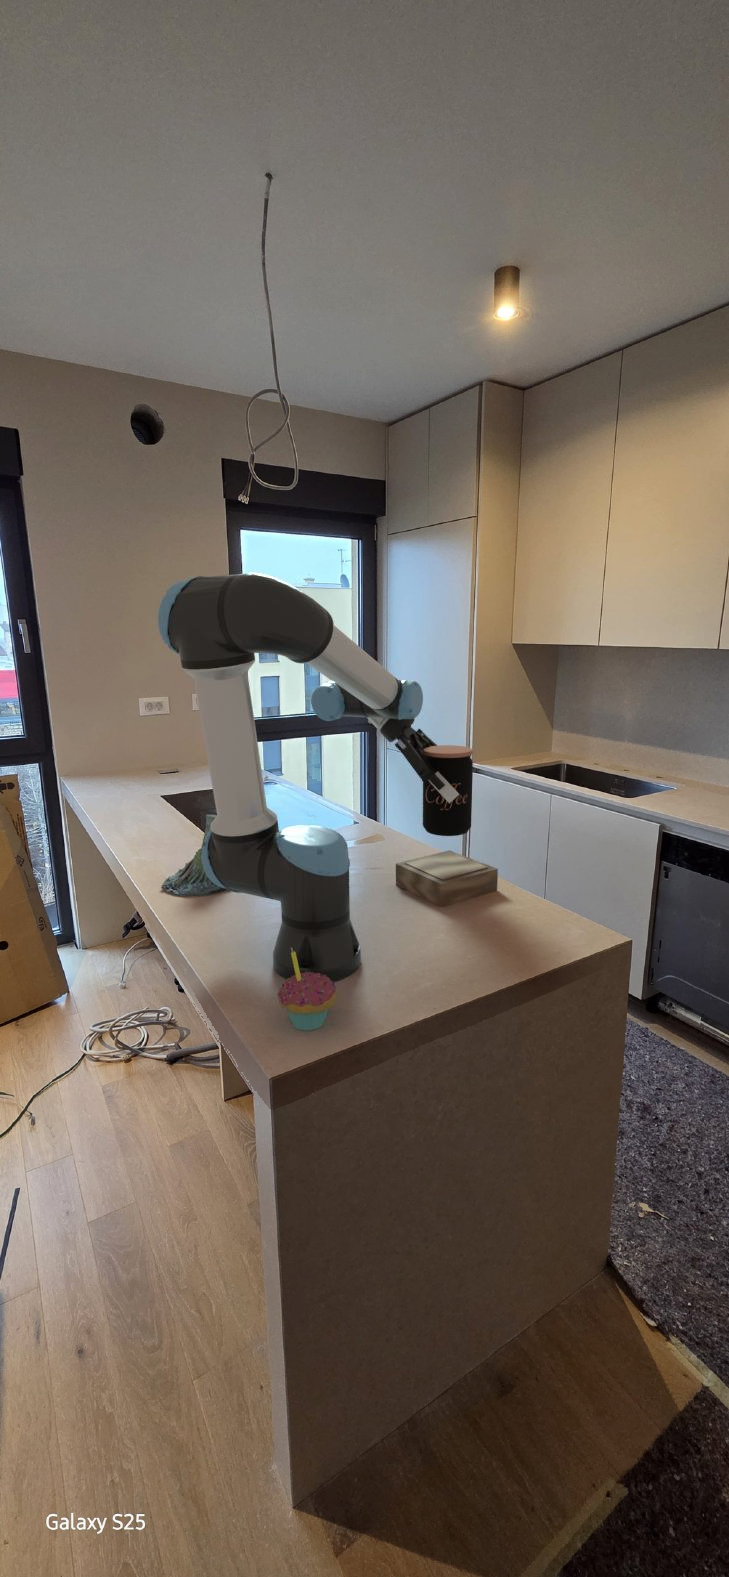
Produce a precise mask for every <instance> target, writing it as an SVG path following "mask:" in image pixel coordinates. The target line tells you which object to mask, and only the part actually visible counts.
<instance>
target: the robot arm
mask: <svg viewBox="0 0 729 1577" xmlns="http://www.w3.org/2000/svg"><path fill="white" fill-rule="evenodd" d="M157 613H158V614H157V626H158V631H159V635H160V637H161V639H162V641H163V643H164V644H165V645H167V647H168V649H170V650H171V651H172V652H174V653H176V654H178V655H179V659H180V664H181V669H182V671H184V672H185V673H187V675H189V676H190V677H191V678H192V679H193V681H194V688H195V692H196V699H197V705H198V710H199V712H198V713H199V715H200V716H199V717H200V723H201V728H202V734H203V740H204V746H205V751H206V758H207V762H208V763H207V764H208V768H209V776H210V780H211V787H212V793H213V798H214V803H215V809H216V810H215V811H216V815H217V816H216V818H215V819H214V820H213V821H212V823H211V825H210V828H211V830H210V831H209V832H208V834H207V835H206V837H205V840H204V843H205V846H204V847H202V854H201V857H202V864H203V868H204V870H205V873H206V875H207V876H208V878H209V879H210V880H211V881H212V882H213V883H214V884H216V885H217V886H219V887H222V888H225V889H224V890H227V891H231V892H233V893H237V894H238V893H239V894H241V893H242V894H246V895H251V896H256V897H261V898H265V899H270V900H272V901H273V900H274V901H278V902H279V903H280V908H281V909H280V912H281V924H280V926H279V927H280V928H279V931H278V934H277V936H276V937H277V938H276V940H275V945H274V949H273V952H272V953H273V954H272V960H273V961H272V962H273V964H272V965H273V968H274V971H275V972H276V973H277V974H278V975H279V976H280V977H282V978H284V979H285V980H286V979H288V978H290V977H292V976H294V975H296V974H295V969H294V965H293V960H292V956H291V953H292V951H291V948H292V949H293V952H296V957H297V961H298V966H299V971H300V973H302V972H303V973H304V972H313V973H316V972H317V973H320V974H322V975H326V977H328V978H329V979H330V980H331V981H332V982H335V981H338V980H341V979H344V978H346V977H349V976H350V975H351V974H353V973H355V972H356V971H357V970H358V969H359V967H360V965H361V963H362V956H361V955H362V953H361V952H362V950H361V945H360V943H359V940H358V937H357V934H356V932H355V929H354V926H353V923H352V920H351V913H350V912H351V911H350V910H351V909H350V907H351V906H350V901H351V900H350V867H351V861H350V857H349V849H348V848H349V847H348V843H347V841H346V839H345V837H344V836H343V835H342V834H341V833H340V832H337V831H335V830H334V829H331V828H328V827H325V826H320V825H314V824H310V825H305V824H295V825H290V826H287V827H285V828H283V829H281V831H280V827H279V821H278V815H277V814H276V812H274V811H273V810H271V809H270V808H269V807H268V806H267V799H266V793H265V784H264V778H263V772H262V771H263V770H262V764H261V757H260V752H259V751H260V750H259V744H258V737H257V729H256V722H255V715H254V710H253V709H254V707H253V702H252V695H251V688H250V687H251V686H250V680H249V674H248V672H249V670H250V669H251V668H252V666H253V665H254V664H255V662H256V655H255V654H269V655H270V654H272V655H278V656H282V657H285V658H287V659H288V660H290V661H291V662H293V663H296V664H300V665H301V664H307V665H309V666H310V667H311V668H313V669H314V670H316V671H317V672H319V673H320V674H322V675H323V676H324V677H326V678H327V679H328V680H330V681H325V682H324V683H323V684H321V685H319V686H317V687H316V688H315V689H314V690H313V692H312V694H311V698H310V704H311V708H312V711H313V712H314V714H315V716H317V717H318V718H319V719H321V720H323V721H326V722H331V721H335V720H338V719H341V718H342V717H350V718H351V717H353V718H354V717H355V718H366V719H368V720H367V723H369V724H372V725H373V726H374V727H375V728H376V729H379V733H380V734H381V735H382V736H383V737H384V738H385V739H386V740H387V741H388V742H389V743H393V742H394V741H396V740H397V741H396V742H395V743H394V747H396V749H397V750H398V751H399V752H401V754H402V755H403V756H404V759H405V760H407V762H408V763H409V764H410V766H411V768H412V769H413V770H414V772H415V773H416V774H417V776H418V777H419V778H420V780H421V782H422V783H423V782H424V783H425V782H426V781H427V780H428V779H429V780H428V781H429V782H430V783H431V784H432V785H433V786H434V787H435V788H436V790H437V791H438V792H439V793H440V794H441V795H442V796H443V797H444V798H445V799H446V800H447V801H448V802H449V803H450V802H451V801H453V800H454V799H455V798H456V797H457V796H458V795H459V793H458V792H457V791H456V790H455V789H454V788H453V787H452V786H451V785H450V784H449V783H448V782H447V781H446V779H445V778H444V777H443V776H442V775H441V774H440V773H439V772H437V773H436V772H435V770H434V768H433V767H432V765H431V763H430V762H429V760H428V759H427V757H426V755H425V754H424V752H423V749H424V748H426V747H431V746H439V745H438V744H437V743H436V742H435V741H433V740H432V739H431V738H430V737H429V736H428V735H426V733H424V732H423V730H422V729H421V728H417V730H415V729H414V728H413V727H412V725H414V722H415V719H416V718H417V717H418V716H419V715H420V713H421V711H422V708H423V703H424V702H423V701H424V695H423V694H424V693H423V689H422V687H421V685H420V683H419V682H417V681H414V680H407V679H404V680H402V679H401V680H399V679H398V678H397V677H395V676H394V674H392V673H391V672H389V671H388V670H387V669H386V668H385V667H383V666H382V665H381V664H380V662H378V661H377V660H376V659H374V658H373V657H372V656H371V655H370V654H368V653H367V652H366V651H365V650H364V649H363V648H361V646H359V645H358V644H356V642H355V641H353V640H352V639H351V638H350V637H348V635H346V634H345V633H344V632H343V631H342V630H341V629H339V628H338V627H337V626H336V625H335V623H334V618H333V616H332V614H330V612H329V611H328V610H327V609H326V608H325V607H323V606H322V605H321V604H320V603H319V602H317V601H316V600H315V599H314V598H312V597H311V596H309V595H308V594H306V593H305V592H304V591H301V590H300V589H298V588H297V587H295V586H294V585H291V584H290V583H288V582H285V581H284V580H281V579H278V578H277V577H273V576H270V575H267V574H263V573H257V572H249V573H248V572H247V573H239V574H238V573H237V574H226V575H223V574H222V575H210V576H209V575H208V576H200V575H198V576H194V577H191V578H186V579H181V580H178V581H176V582H174V583H173V584H172V585H171V586H169V588H168V589H167V590H166V591H165V595H164V596H163V597H162V598H161V601H160V603H159V607H158V612H157Z"/></svg>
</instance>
